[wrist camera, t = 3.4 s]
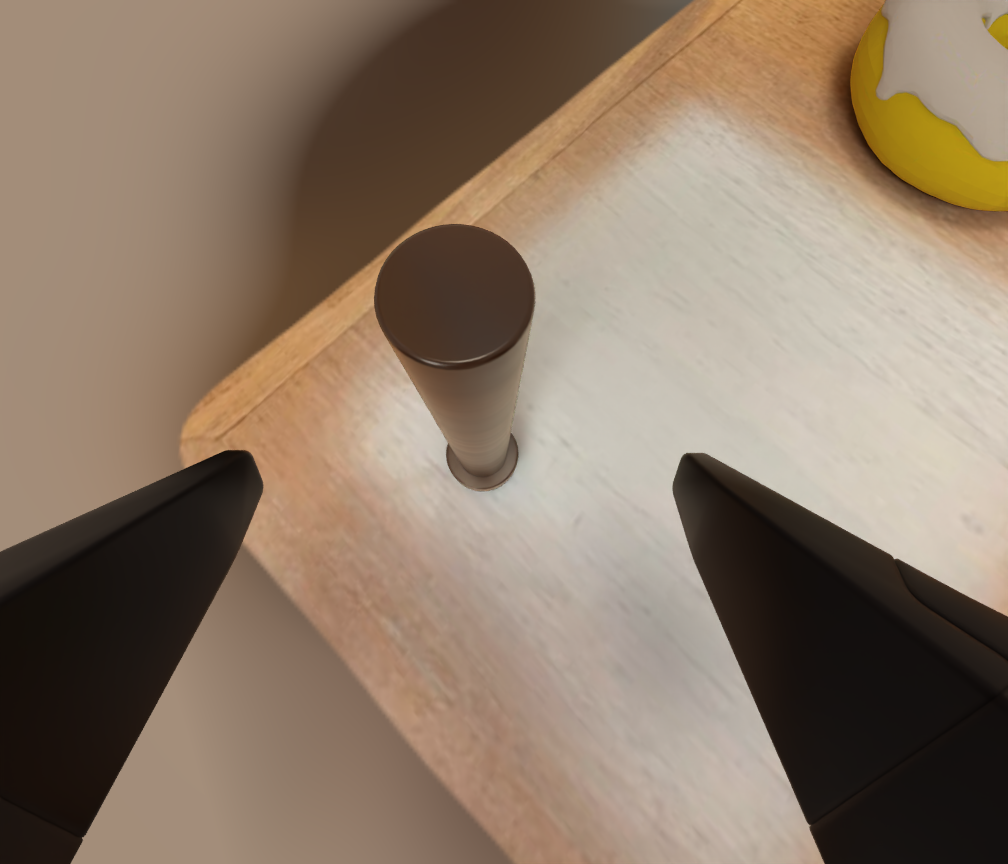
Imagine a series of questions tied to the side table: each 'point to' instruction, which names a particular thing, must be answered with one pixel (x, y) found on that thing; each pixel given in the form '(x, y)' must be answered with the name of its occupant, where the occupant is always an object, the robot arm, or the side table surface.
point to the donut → (938, 97)
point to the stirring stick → (462, 340)
